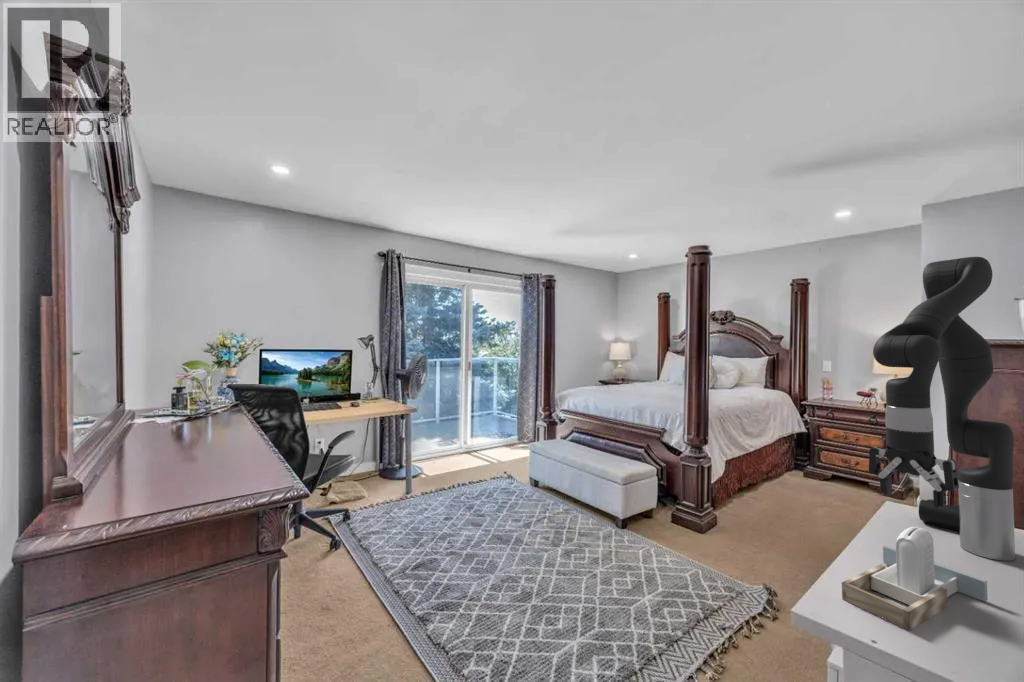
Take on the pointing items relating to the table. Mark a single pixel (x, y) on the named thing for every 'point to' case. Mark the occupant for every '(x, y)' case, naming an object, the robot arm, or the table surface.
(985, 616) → the table surface
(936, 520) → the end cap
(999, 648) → the table surface
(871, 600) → the dock housing
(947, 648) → the table surface
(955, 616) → the table surface
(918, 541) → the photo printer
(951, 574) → the tray
